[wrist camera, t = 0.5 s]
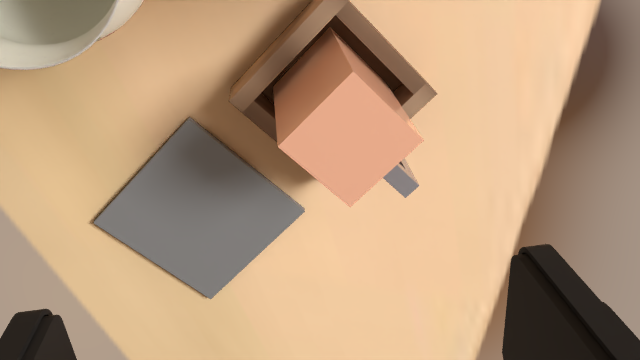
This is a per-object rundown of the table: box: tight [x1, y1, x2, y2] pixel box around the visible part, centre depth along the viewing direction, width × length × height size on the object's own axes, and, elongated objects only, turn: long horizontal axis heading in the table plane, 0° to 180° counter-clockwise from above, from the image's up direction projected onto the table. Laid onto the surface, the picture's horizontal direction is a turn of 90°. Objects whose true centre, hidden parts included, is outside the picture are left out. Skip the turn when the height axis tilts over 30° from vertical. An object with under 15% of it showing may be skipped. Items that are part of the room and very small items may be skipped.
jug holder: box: [229, 0, 437, 142], centre depth 40 cm, size 10×10×3 cm
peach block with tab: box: [273, 27, 424, 207], centre depth 37 cm, size 6×9×11 cm, turn 45°
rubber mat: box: [93, 117, 305, 299], centre depth 45 cm, size 12×12×1 cm
